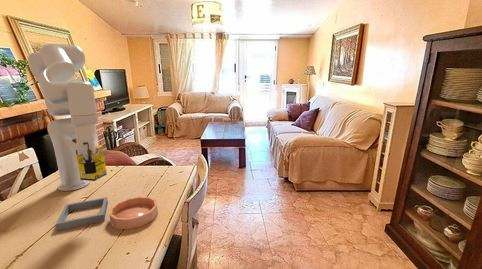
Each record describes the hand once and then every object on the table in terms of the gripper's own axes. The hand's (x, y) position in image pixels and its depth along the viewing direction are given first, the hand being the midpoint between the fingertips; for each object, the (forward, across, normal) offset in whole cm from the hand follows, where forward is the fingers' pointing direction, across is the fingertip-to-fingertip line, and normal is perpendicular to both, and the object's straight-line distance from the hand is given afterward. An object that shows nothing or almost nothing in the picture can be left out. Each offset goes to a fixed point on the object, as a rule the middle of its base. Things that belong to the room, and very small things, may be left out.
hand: (93, 168), depth 86 cm
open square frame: (+18, -3, -6) cm, 19 cm away
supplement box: (+3, 0, 0) cm, 3 cm away
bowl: (+18, +5, +12) cm, 22 cm away
